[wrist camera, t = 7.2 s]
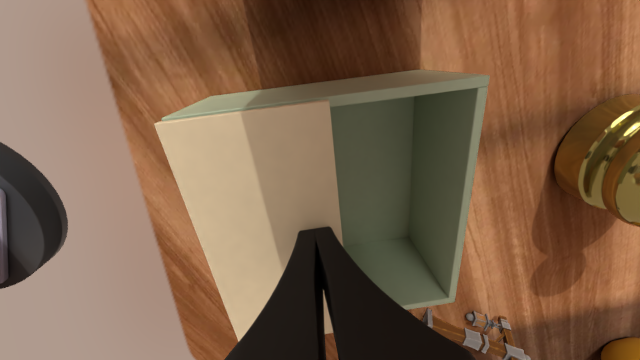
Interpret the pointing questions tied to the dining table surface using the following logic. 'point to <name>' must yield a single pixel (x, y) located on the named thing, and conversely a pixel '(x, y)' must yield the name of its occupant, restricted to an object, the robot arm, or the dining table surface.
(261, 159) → the door
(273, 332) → the robot arm
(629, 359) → the apple
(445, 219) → the box
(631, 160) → the brass weight
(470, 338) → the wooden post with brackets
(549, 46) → the dining table surface
